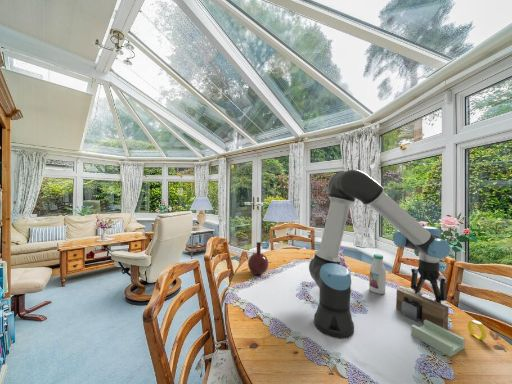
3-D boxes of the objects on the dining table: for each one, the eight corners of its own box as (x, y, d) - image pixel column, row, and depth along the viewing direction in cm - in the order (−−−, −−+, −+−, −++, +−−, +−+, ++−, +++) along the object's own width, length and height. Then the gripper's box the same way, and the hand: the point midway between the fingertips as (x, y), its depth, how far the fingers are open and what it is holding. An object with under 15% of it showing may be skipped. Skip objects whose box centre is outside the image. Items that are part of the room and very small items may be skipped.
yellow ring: (465, 332, 85) (465, 317, 85) (473, 333, 84) (473, 317, 85) (480, 342, 79) (480, 325, 79) (488, 343, 78) (488, 326, 79)
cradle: (464, 348, 75) (464, 338, 75) (450, 357, 71) (450, 346, 71) (425, 328, 86) (425, 319, 86) (411, 334, 82) (411, 325, 82)
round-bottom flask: (245, 270, 141) (246, 240, 141) (264, 269, 145) (264, 240, 145) (250, 279, 129) (251, 246, 128) (271, 276, 132) (272, 245, 132)
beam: (442, 331, 84) (443, 309, 84) (396, 308, 101) (396, 289, 100) (447, 328, 86) (448, 306, 86) (401, 306, 102) (401, 287, 102)
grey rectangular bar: (416, 321, 90) (416, 307, 90) (401, 313, 96) (402, 300, 96) (438, 312, 98) (439, 299, 98) (423, 305, 104) (424, 293, 103)
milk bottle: (381, 288, 121) (382, 253, 121) (388, 295, 113) (389, 257, 113) (366, 287, 122) (368, 252, 122) (372, 293, 114) (374, 256, 114)
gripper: (459, 266, 92) (457, 318, 92) (411, 253, 109) (409, 298, 110) (450, 268, 89) (448, 323, 89) (402, 255, 106) (400, 301, 106)
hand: (427, 309), depth 99 cm, fingers closed on grey rectangular bar, 6 cm apart
